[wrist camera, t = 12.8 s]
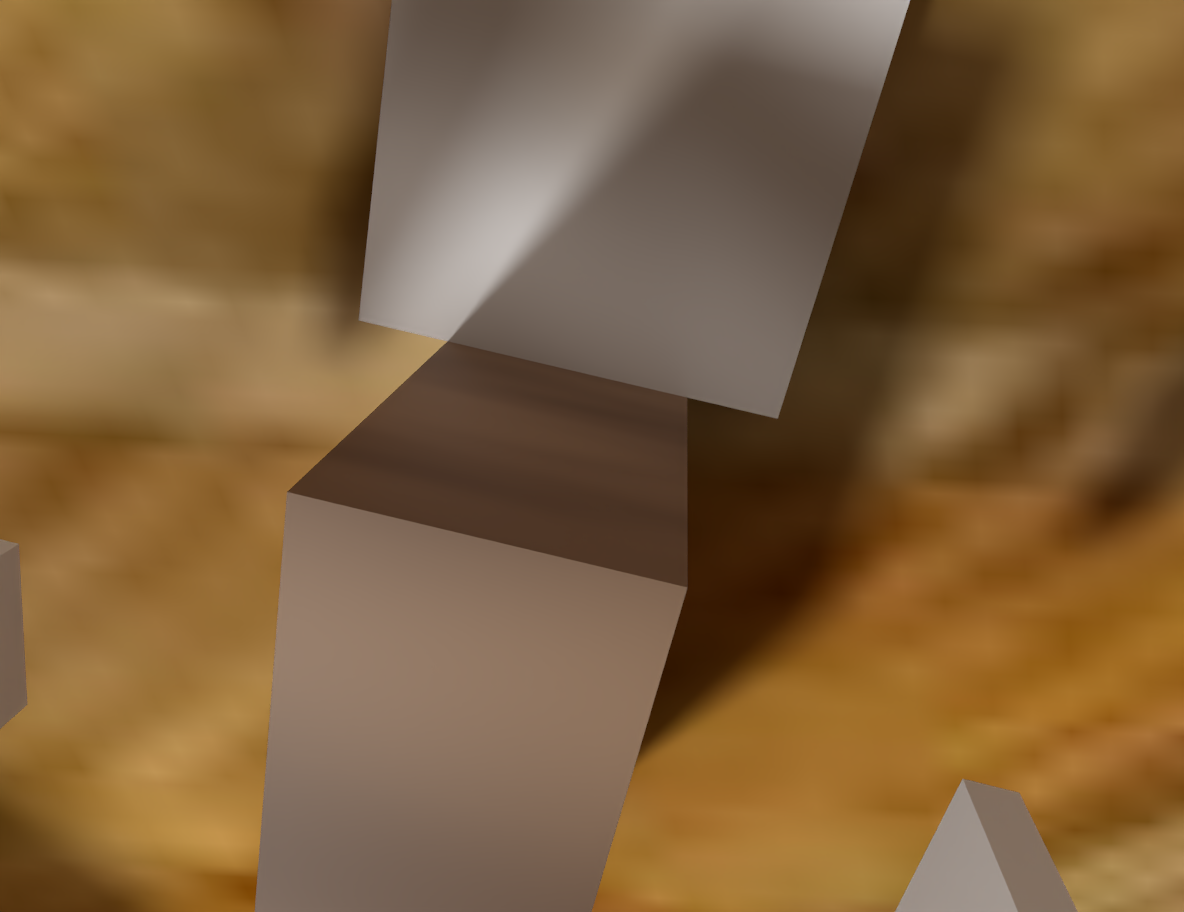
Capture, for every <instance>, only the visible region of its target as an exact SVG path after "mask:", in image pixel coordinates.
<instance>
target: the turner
mask: <svg viewBox="0 0 1184 912" xmlns="http://www.w3.org/2000/svg"><path fill="white" fill-rule="evenodd" d="M909 2H910V0H392V5H391V15H390V25H389V34H388V44H387V53H386V63H385V72H384V82H383V92H382V101H381V111H380V120H379V130H378V140H377V149H376V159H375V168H374V178H373V187H372V197H371V207H370V216H369V226H368V235H367V245H366V254H365V264H364V274H363V283H362V293H361V302H360V312H359V321H363V322H368V323H372V324H376V325H380V326H385V327H389V328H393V329H397V330H402V331H406V332H410V333H414V334H419V335H423V336H427V337H431V338H436V339H440V340H444V341H448V342H447V343H446V344H444V345H443V346H442V347H441V348H440V349H439V350H438V351H437V352H436V353H435V354H434V355H433V356H432V357H431V358H430V359H428V360H427V361H426V362H425V363H424V364H423V365H422V366H421V367H420V368H419V369H418V370H417V371H416V372H415V373H414V374H412V375H411V376H410V377H409V378H408V379H407V380H406V381H405V382H404V383H403V384H402V385H401V386H400V387H399V388H398V389H396V390H395V391H394V392H393V393H392V394H391V395H390V396H389V397H388V398H387V399H386V400H385V401H384V402H383V403H382V404H380V405H379V406H378V407H377V408H376V409H375V410H374V411H373V412H372V413H371V414H370V415H369V416H368V417H367V418H366V419H364V420H363V421H362V422H361V423H360V424H359V425H358V426H357V427H356V428H355V429H354V430H353V431H352V432H351V433H350V434H348V435H347V436H346V437H345V438H344V439H343V440H342V441H341V442H340V443H339V444H338V445H337V446H336V447H335V448H334V449H333V450H331V451H330V452H329V453H328V454H327V455H326V456H325V457H324V458H323V459H322V460H321V461H320V462H319V463H318V464H317V465H315V466H314V467H313V468H312V469H311V470H310V471H309V472H308V473H307V474H306V475H305V476H304V477H303V478H302V479H301V480H299V481H298V482H297V483H296V484H295V485H294V486H293V487H292V488H291V489H290V490H289V491H288V492H287V501H286V514H285V527H284V540H283V553H282V566H281V579H280V592H279V605H278V618H277V631H276V644H275V657H274V670H273V683H272V696H271V709H270V722H269V735H268V748H267V761H266V774H265V787H264V800H263V813H262V825H261V838H260V851H259V864H258V877H257V890H256V903H255V912H591V911H592V908H593V905H594V901H595V898H596V895H597V891H598V888H599V884H600V881H601V878H602V874H603V871H604V868H605V864H606V861H607V858H608V854H609V851H610V847H611V844H612V841H613V837H614V834H615V831H616V827H617V824H618V820H619V817H620V814H621V810H622V807H623V804H624V800H625V797H626V793H627V790H628V787H629V783H630V780H631V777H632V773H633V770H634V767H635V763H636V760H637V756H638V753H639V750H640V746H641V743H642V740H643V736H644V733H645V729H646V726H647V723H648V719H649V716H650V713H651V709H652V706H653V703H654V699H655V696H656V692H657V689H658V686H659V682H660V679H661V676H662V672H663V669H664V665H665V662H666V659H667V655H668V652H669V649H670V645H671V642H672V638H673V635H674V632H675V628H676V625H677V622H678V618H679V615H680V612H681V608H682V605H683V601H684V598H685V595H686V591H687V588H688V524H687V398H691V399H696V400H700V401H704V402H708V403H713V404H717V405H721V406H725V407H730V408H734V409H738V410H742V411H747V412H751V413H755V414H759V415H764V416H768V417H772V418H776V419H778V416H779V413H780V410H781V407H782V404H783V400H784V397H785V394H786V391H787V388H788V385H789V381H790V378H791V375H792V372H793V369H794V366H795V363H796V359H797V356H798V353H799V350H800V347H801V344H802V340H803V337H804V334H805V331H806V328H807V325H808V321H809V318H810V315H811V312H812V309H813V306H814V303H815V299H816V296H817V293H818V290H819V287H820V284H821V280H822V277H823V274H824V271H825V268H826V265H827V261H828V258H829V255H830V252H831V249H832V246H833V242H834V239H835V236H836V233H837V230H838V227H839V224H840V220H841V217H842V214H843V211H844V208H845V205H846V201H847V198H848V195H849V192H850V189H851V186H852V182H853V179H854V176H855V173H856V170H857V167H858V164H859V160H860V157H861V154H862V151H863V148H864V145H865V141H866V138H867V135H868V132H869V129H870V126H871V122H872V119H873V116H874V113H875V110H876V107H877V103H878V100H879V97H880V94H881V91H882V88H883V85H884V81H885V78H886V75H887V72H888V69H889V66H890V62H891V59H892V56H893V53H894V50H895V47H896V43H897V40H898V37H899V34H900V31H901V28H902V24H903V21H904V18H905V15H906V12H907V9H908V6H909Z"/></svg>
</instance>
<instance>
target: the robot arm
mask: <svg viewBox="0 0 1184 912" xmlns="http://www.w3.org/2000/svg"><path fill="white" fill-rule="evenodd" d="M26 705H27V690H26V671H25V652H24V633H23V615H22V596H21V577H20V558H19V544H17V543H13V542H9V541H5V540H1V539H0V728H2V727H3V726H4V725H5V724H6V723H7V722H8V721H9V720H11V719H12V718H13V717H14V716H15V715H16V714H17V713H18V712H20V711H21V710H22V709H23V708H24V707H25V706H26ZM895 912H1078V911H1077V909H1076V907H1075V905H1074V903H1073V901H1072V899H1071V897H1070V895H1069V893H1068V891H1067V889H1066V887H1065V885H1064V883H1063V881H1062V879H1061V877H1060V875H1059V873H1058V871H1057V869H1056V867H1055V865H1054V863H1053V861H1052V859H1051V857H1050V855H1049V852H1048V850H1047V848H1046V846H1045V844H1044V842H1043V840H1042V838H1041V836H1040V834H1039V832H1038V830H1037V828H1036V826H1035V824H1034V822H1033V820H1032V818H1031V816H1030V814H1029V812H1028V810H1027V808H1026V806H1025V804H1024V802H1023V800H1022V798H1021V795H1020V793H1018V792H1014V791H1010V790H1006V789H1002V788H998V787H994V786H990V785H986V784H982V783H978V782H974V781H970V780H966V779H962V781H961V783H960V785H959V787H958V789H957V791H956V793H955V795H954V797H953V799H952V801H951V803H950V805H949V807H948V809H947V811H946V813H945V815H944V817H943V818H942V820H941V822H940V824H939V826H938V828H937V830H936V832H935V834H934V836H933V838H932V840H931V842H930V844H929V846H928V848H927V850H926V852H925V854H924V856H923V858H922V860H921V862H920V864H919V866H918V868H917V870H916V872H915V874H914V876H913V878H912V879H911V881H910V883H909V885H908V887H907V889H906V891H905V893H904V895H903V897H902V899H901V901H900V903H899V905H898V907H897V909H896V911H895Z"/></svg>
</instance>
